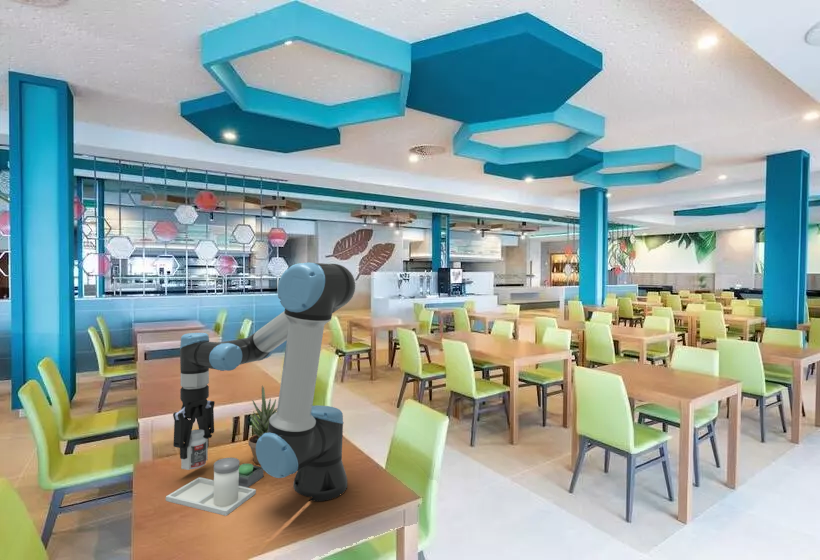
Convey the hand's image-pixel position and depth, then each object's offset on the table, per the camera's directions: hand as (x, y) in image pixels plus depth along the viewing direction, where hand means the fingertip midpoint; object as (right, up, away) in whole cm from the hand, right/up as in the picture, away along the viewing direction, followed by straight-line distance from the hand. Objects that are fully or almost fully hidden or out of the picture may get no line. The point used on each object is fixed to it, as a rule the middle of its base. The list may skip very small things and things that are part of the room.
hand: (194, 464), depth 129 cm
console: (+16, -5, -3) cm, 17 cm away
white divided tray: (+11, -5, -13) cm, 17 cm away
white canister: (+15, -4, -14) cm, 21 cm away
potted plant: (+16, -4, +13) cm, 21 cm away
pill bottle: (0, -1, 0) cm, 1 cm away
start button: (+16, -1, -3) cm, 16 cm away
